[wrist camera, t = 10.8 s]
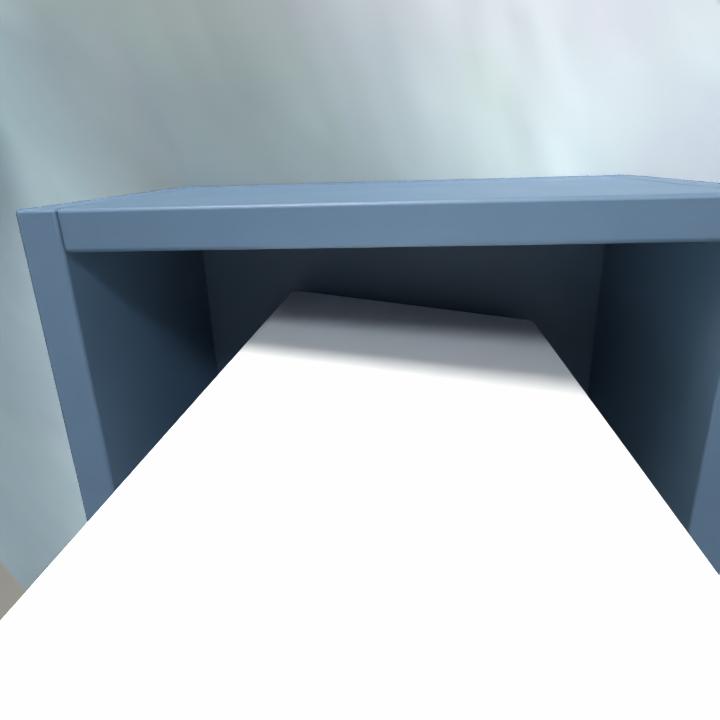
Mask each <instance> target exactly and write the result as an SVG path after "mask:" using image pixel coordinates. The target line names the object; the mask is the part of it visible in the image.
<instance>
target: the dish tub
mask: <svg viewBox="0 0 720 720" xmlns="http://www.w3.org/2000/svg"><path fill="white" fill-rule="evenodd" d="M16 216H17V221H18V225H19V229H20V233H21V238H22V242H23V246H24V251H25V255H26V259H27V264H28V268H29V272H30V276H31V281H32V285H33V289H34V294H35V298H36V302H37V307H38V311H39V315H40V320H41V324H42V328H43V332H44V337H45V341H46V345H47V350H48V354H49V358H50V363H51V367H52V371H53V375H54V380H55V384H56V388H57V393H58V397H59V401H60V406H61V410H62V414H63V418H64V423H65V427H66V431H67V436H68V440H69V444H70V449H71V453H72V457H73V461H74V466H75V470H76V474H77V479H78V483H79V487H80V492H81V496H82V500H83V505H84V509H85V513H86V517H87V522H88V521H89V520H90V519H91V518H92V517H93V515H94V514H95V513H96V512H97V511H98V510H99V509H100V508H101V506H102V505H103V504H104V503H105V502H106V501H107V500H108V498H109V497H110V496H111V495H112V494H113V493H114V492H115V491H116V489H117V488H118V487H119V486H120V485H121V484H122V483H123V482H124V480H125V479H126V478H127V477H128V476H129V475H130V474H131V473H132V471H133V470H134V469H135V468H136V467H137V466H138V465H139V464H140V462H141V461H142V460H143V459H144V458H145V457H146V456H147V455H148V453H149V452H150V451H151V450H152V449H153V448H154V447H155V445H156V444H157V443H158V442H159V441H160V440H161V439H162V438H163V436H164V435H165V434H166V433H167V432H168V431H169V430H170V429H171V427H172V426H173V425H174V424H175V423H176V422H177V421H178V420H179V418H180V417H181V416H182V415H183V414H184V413H185V412H186V411H187V409H188V408H189V407H190V406H191V405H192V404H193V403H194V402H195V400H196V399H197V398H198V397H199V396H200V395H201V394H202V392H203V391H204V390H205V389H206V388H207V387H208V386H209V385H210V383H211V382H212V381H213V380H214V379H215V378H216V377H217V376H218V374H219V373H220V372H221V371H222V370H223V369H224V368H225V367H226V365H227V364H228V363H229V362H230V361H231V360H232V359H233V358H234V356H235V355H236V354H237V353H238V352H239V351H240V350H241V349H242V347H243V346H244V345H245V344H246V343H247V342H248V341H249V339H250V338H251V337H252V336H253V335H254V334H255V333H256V332H257V330H258V329H259V328H260V327H261V326H262V325H263V324H264V323H265V321H266V320H267V319H268V318H269V317H270V316H271V315H272V314H273V312H274V311H275V310H276V309H277V308H278V307H279V306H280V305H281V303H282V302H283V301H284V300H285V299H286V298H287V297H288V296H289V294H290V293H291V292H292V291H304V292H312V293H320V294H328V295H336V296H343V297H351V298H359V299H367V300H375V301H383V302H391V303H399V304H406V305H414V306H422V307H430V308H438V309H446V310H454V311H461V312H469V313H477V314H485V315H493V316H501V317H509V318H516V319H524V320H530V321H533V322H534V323H535V325H536V326H537V327H538V329H539V330H540V332H541V333H542V334H543V336H544V337H545V338H546V340H547V341H548V342H549V344H550V345H551V347H552V348H553V349H554V351H555V352H556V353H557V355H558V356H559V357H560V359H561V360H562V362H563V363H564V364H565V366H566V367H567V368H568V370H569V371H570V373H571V374H572V375H573V377H574V378H575V379H576V381H577V382H578V383H579V385H580V386H581V388H582V389H583V390H584V392H585V393H586V394H587V396H588V397H589V398H590V400H591V401H592V403H593V404H594V405H595V407H596V408H597V409H598V411H599V412H600V414H601V415H602V416H603V418H604V419H605V420H606V422H607V423H608V424H609V426H610V427H611V429H612V430H613V431H614V433H615V434H616V435H617V437H618V438H619V439H620V441H621V442H622V444H623V445H624V446H625V448H626V449H627V450H628V452H629V453H630V455H631V456H632V457H633V459H634V460H635V461H636V463H637V464H638V465H639V467H640V468H641V470H642V471H643V472H644V474H645V475H646V476H647V478H648V479H649V481H650V482H651V483H652V485H653V486H654V487H655V489H656V490H657V491H658V493H659V494H660V496H661V497H662V498H663V500H664V501H665V502H666V504H667V505H668V506H669V508H670V509H671V511H672V512H673V513H674V515H675V516H676V517H677V519H678V520H679V522H680V523H681V524H682V526H683V527H684V528H685V530H686V531H687V532H688V534H689V535H690V537H691V538H692V539H693V541H694V542H695V543H696V545H697V546H698V547H699V549H700V550H701V552H702V553H703V554H704V556H705V557H706V558H707V560H708V561H709V563H710V564H711V565H712V567H713V568H714V569H715V571H716V572H717V573H718V575H719V574H720V183H715V182H704V181H693V180H681V179H670V178H659V177H648V176H635V175H604V176H568V177H532V178H495V179H459V180H423V181H386V182H350V183H314V184H277V185H241V186H205V187H181V188H173V189H166V190H159V191H151V192H144V193H137V194H129V195H122V196H115V197H108V198H100V199H93V200H86V201H78V202H71V203H64V204H56V205H49V206H42V207H34V208H27V209H20V210H18V211H16Z"/></svg>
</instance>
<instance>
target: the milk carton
mask: <svg viewBox="0 0 720 720" xmlns="http://www.w3.org/2000/svg"><path fill="white" fill-rule="evenodd" d="M0 720H720V576H719V575H718V573H717V572H716V571H715V569H714V568H713V567H712V565H711V564H710V563H709V561H708V560H707V558H706V557H705V556H704V554H703V553H702V552H701V550H700V549H699V547H698V546H697V545H696V543H695V542H694V541H693V539H692V538H691V537H690V535H689V534H688V532H687V531H686V530H685V528H684V527H683V526H682V524H681V523H680V522H679V520H678V519H677V517H676V516H675V515H674V513H673V512H672V511H671V509H670V508H669V506H668V505H667V504H666V502H665V501H664V500H663V498H662V497H661V496H660V494H659V493H658V491H657V490H656V489H655V487H654V486H653V485H652V483H651V482H650V481H649V479H648V478H647V476H646V475H645V474H644V472H643V471H642V470H641V468H640V467H639V465H638V464H637V463H636V461H635V460H634V459H633V457H632V456H631V455H630V453H629V452H628V450H627V449H626V448H625V446H624V445H623V444H622V442H621V441H620V439H619V438H618V437H617V435H616V434H615V433H614V431H613V430H612V429H611V427H610V426H609V424H608V423H607V422H606V420H605V419H604V418H603V416H602V415H601V414H600V412H599V411H598V409H597V408H596V407H595V405H594V404H593V403H592V401H591V400H590V398H589V397H588V396H587V394H586V393H585V392H584V390H583V389H582V388H581V386H580V385H579V383H578V382H577V381H576V379H575V378H574V377H573V375H572V374H571V373H570V371H569V370H568V368H567V367H566V366H565V364H564V363H563V362H562V360H561V359H560V357H559V356H558V355H557V353H556V352H555V351H554V349H553V348H552V347H551V345H550V344H549V342H548V341H547V340H546V338H545V337H544V336H543V334H542V333H541V332H540V330H539V329H538V327H537V326H536V325H535V323H534V322H533V321H530V320H524V319H516V318H509V317H501V316H493V315H485V314H477V313H469V312H461V311H454V310H446V309H438V308H430V307H422V306H414V305H406V304H399V303H391V302H383V301H375V300H367V299H359V298H351V297H343V296H336V295H328V294H320V293H312V292H304V291H292V292H291V293H290V294H289V296H288V297H287V298H286V299H285V300H284V301H283V302H282V303H281V305H280V306H279V307H278V308H277V309H276V310H275V311H274V312H273V314H272V315H271V316H270V317H269V318H268V319H267V320H266V321H265V323H264V324H263V325H262V326H261V327H260V328H259V329H258V330H257V332H256V333H255V334H254V335H253V336H252V337H251V338H250V339H249V341H248V342H247V343H246V344H245V345H244V346H243V347H242V349H241V350H240V351H239V352H238V353H237V354H236V355H235V356H234V358H233V359H232V360H231V361H230V362H229V363H228V364H227V365H226V367H225V368H224V369H223V370H222V371H221V372H220V373H219V374H218V376H217V377H216V378H215V379H214V380H213V381H212V382H211V383H210V385H209V386H208V387H207V388H206V389H205V390H204V391H203V392H202V394H201V395H200V396H199V397H198V398H197V399H196V400H195V402H194V403H193V404H192V405H191V406H190V407H189V408H188V409H187V411H186V412H185V413H184V414H183V415H182V416H181V417H180V418H179V420H178V421H177V422H176V423H175V424H174V425H173V426H172V427H171V429H170V430H169V431H168V432H167V433H166V434H165V435H164V436H163V438H162V439H161V440H160V441H159V442H158V443H157V444H156V445H155V447H154V448H153V449H152V450H151V451H150V452H149V453H148V455H147V456H146V457H145V458H144V459H143V460H142V461H141V462H140V464H139V465H138V466H137V467H136V468H135V469H134V470H133V471H132V473H131V474H130V475H129V476H128V477H127V478H126V479H125V480H124V482H123V483H122V484H121V485H120V486H119V487H118V488H117V489H116V491H115V492H114V493H113V494H112V495H111V496H110V497H109V498H108V500H107V501H106V502H105V503H104V504H103V505H102V506H101V508H100V509H99V510H98V511H97V512H96V513H95V514H94V515H93V517H92V518H91V519H90V520H89V521H88V522H87V523H86V524H85V526H84V527H83V528H82V529H81V530H80V531H79V532H78V533H77V535H76V536H75V537H74V538H73V539H72V540H71V541H70V542H69V544H68V545H67V546H66V547H65V548H64V549H63V550H62V552H61V553H60V554H59V555H58V556H57V557H56V558H55V559H54V561H53V562H52V563H51V564H50V565H49V566H48V567H47V568H46V570H45V571H44V572H43V573H42V574H41V575H40V576H39V577H38V579H37V580H36V581H35V582H34V583H33V584H32V585H31V586H30V588H29V589H28V590H27V591H26V592H25V593H24V594H23V596H22V597H21V598H20V599H19V600H18V601H17V602H16V603H15V605H14V606H13V607H12V608H11V609H10V610H9V611H8V613H7V614H6V615H5V616H4V617H3V618H2V619H1V620H0Z"/></svg>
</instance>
